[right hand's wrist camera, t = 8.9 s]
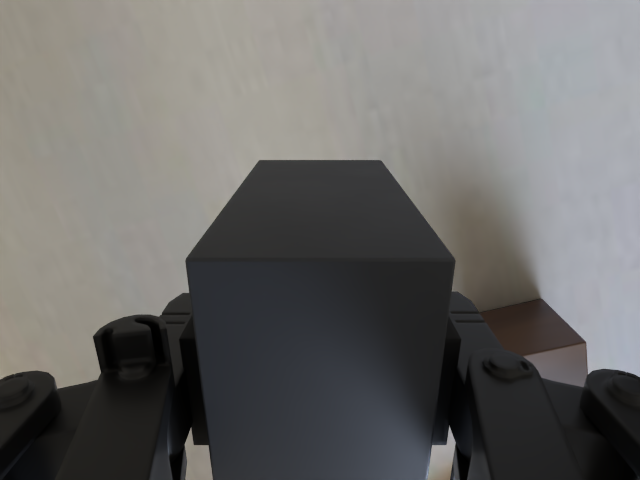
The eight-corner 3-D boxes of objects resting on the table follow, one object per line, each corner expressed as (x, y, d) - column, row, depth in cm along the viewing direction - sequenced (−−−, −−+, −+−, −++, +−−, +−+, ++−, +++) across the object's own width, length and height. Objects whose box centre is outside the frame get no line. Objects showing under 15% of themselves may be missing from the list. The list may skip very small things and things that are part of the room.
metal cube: (467, 314, 28) (496, 360, 24) (542, 298, 28) (586, 341, 23) (476, 373, 30) (505, 427, 25) (547, 358, 30) (590, 410, 25)
